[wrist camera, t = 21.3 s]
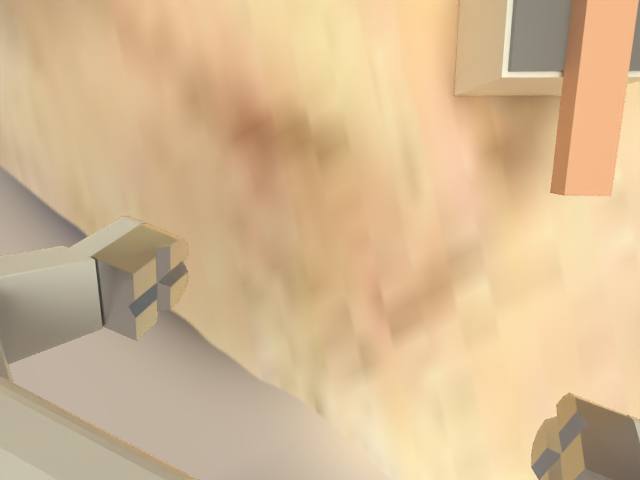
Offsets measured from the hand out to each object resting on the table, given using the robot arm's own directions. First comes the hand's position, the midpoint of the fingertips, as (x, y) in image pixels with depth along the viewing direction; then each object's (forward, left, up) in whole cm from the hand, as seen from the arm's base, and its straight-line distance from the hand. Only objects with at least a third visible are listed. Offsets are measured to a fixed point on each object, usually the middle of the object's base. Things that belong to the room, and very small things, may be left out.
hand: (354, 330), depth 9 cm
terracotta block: (+17, +18, -33) cm, 41 cm away
